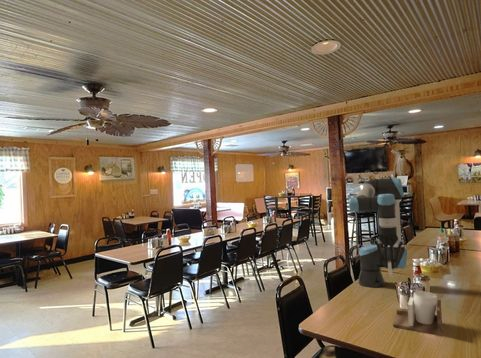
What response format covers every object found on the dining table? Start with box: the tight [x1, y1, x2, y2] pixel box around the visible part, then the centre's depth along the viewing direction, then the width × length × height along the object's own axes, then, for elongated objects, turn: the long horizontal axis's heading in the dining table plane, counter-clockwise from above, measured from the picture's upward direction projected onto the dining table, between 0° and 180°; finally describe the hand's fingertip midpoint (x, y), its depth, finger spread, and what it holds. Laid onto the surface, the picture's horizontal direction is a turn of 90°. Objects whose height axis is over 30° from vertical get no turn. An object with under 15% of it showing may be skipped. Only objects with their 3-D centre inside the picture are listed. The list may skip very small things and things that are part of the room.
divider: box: [407, 296, 415, 326], centre depth 144 cm, size 2×11×9 cm, turn 147°
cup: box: [412, 290, 438, 325], centre depth 143 cm, size 9×9×12 cm
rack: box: [392, 299, 443, 336], centre depth 143 cm, size 18×13×10 cm
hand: (390, 275), depth 156 cm, fingers closed
